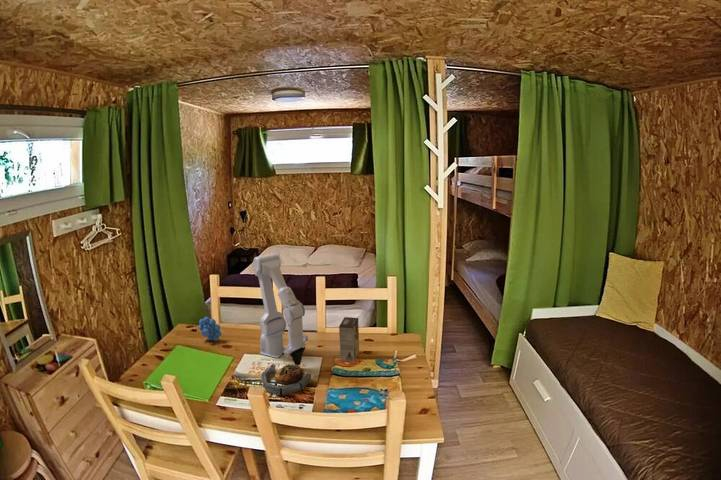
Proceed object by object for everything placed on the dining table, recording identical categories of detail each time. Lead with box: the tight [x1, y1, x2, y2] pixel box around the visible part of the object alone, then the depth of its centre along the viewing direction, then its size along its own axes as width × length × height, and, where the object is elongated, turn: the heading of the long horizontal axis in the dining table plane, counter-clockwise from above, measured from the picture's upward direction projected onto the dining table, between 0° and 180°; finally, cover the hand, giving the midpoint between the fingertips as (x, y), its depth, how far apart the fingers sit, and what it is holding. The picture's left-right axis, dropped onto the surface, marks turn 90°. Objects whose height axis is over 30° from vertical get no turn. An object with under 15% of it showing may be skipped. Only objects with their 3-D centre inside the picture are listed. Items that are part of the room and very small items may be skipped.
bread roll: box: [274, 363, 304, 385], centre depth 136 cm, size 11×11×5 cm
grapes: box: [198, 316, 223, 342], centre depth 163 cm, size 12×7×12 cm, turn 77°
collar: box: [260, 364, 312, 396], centre depth 131 cm, size 18×12×2 cm
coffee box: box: [338, 316, 360, 363], centre depth 148 cm, size 9×6×16 cm
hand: (297, 364), depth 141 cm, fingers closed
